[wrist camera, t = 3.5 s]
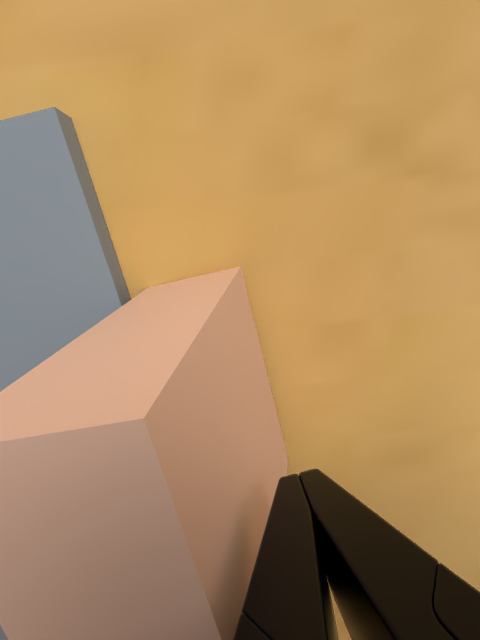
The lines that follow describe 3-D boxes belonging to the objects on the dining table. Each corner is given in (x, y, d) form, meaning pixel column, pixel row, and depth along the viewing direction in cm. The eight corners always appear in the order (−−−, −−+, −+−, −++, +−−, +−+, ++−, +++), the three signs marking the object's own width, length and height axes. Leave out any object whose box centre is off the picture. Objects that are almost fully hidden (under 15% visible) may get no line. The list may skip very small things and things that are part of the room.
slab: (287, 457, 17) (283, 816, 7) (206, 468, 17) (102, 810, 8) (240, 266, 14) (143, 417, 5) (149, 287, 15) (-93, 456, 6)
